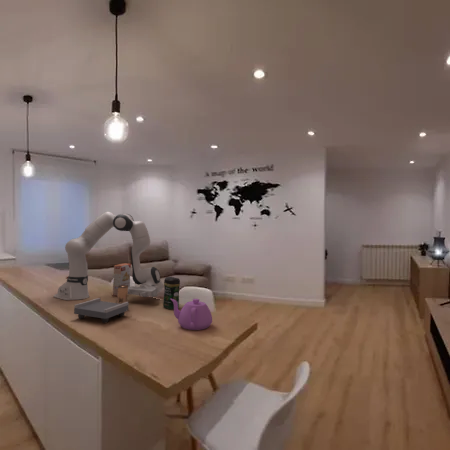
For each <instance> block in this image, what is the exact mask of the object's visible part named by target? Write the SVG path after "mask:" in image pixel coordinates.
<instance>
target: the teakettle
mask: <svg viewBox="0 0 450 450" xmlns="http://www.w3.org/2000/svg"><path fill="white" fill-rule="evenodd" d="M171 300H172V301H173V304H174V309H173V315H174V317H175V319H177V321H178V322H177V323H178V324H179V325H180V327H181V328H183V329H185V330H190V331H191V330H192V331H200V330H205V329H208V328H209V327H210V326H211V325H212V323H213V315H212V312H211V310H210V308H209V306H208V305H207V303H206V302H204V301H200V299H199V298H192V300H191V301H187V302H186V303H184V305H183V306H182V308H181V309H179V308H178V304H177V301H176V300H174V299H171Z"/></svg>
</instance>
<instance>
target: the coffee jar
mask: <svg viewBox="0 0 450 450" xmlns="http://www.w3.org/2000/svg"><path fill="white" fill-rule="evenodd" d="M180 287H181V281H180V279H179V277H175V276H167V277H165V278H164V281H163V288H164V294H163V300H162V301H163V303H162V307H163V308H165V309H168V310H174V304H173V301H172V300H171V299H174V300H176V301H177V304H178V309H179V307H180Z"/></svg>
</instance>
